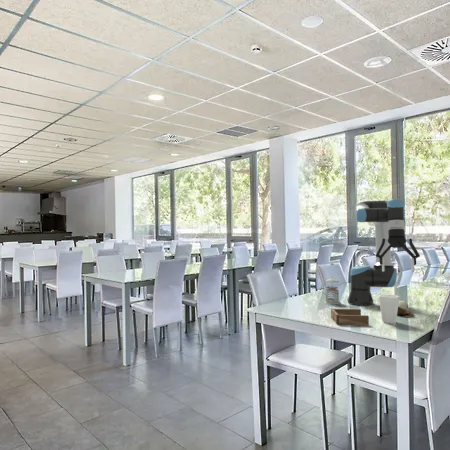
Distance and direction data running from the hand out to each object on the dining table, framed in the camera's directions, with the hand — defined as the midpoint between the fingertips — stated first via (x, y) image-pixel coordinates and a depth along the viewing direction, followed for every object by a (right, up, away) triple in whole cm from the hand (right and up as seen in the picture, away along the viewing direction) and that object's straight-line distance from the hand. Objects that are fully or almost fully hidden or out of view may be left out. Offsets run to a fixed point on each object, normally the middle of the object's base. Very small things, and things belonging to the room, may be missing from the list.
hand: (398, 271), depth 194 cm
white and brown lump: (+10, -26, +18) cm, 33 cm away
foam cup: (-4, -26, +2) cm, 26 cm away
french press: (-19, -26, +53) cm, 62 cm away
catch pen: (-23, -25, +3) cm, 34 cm away
